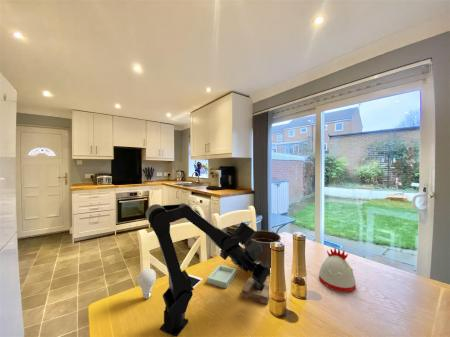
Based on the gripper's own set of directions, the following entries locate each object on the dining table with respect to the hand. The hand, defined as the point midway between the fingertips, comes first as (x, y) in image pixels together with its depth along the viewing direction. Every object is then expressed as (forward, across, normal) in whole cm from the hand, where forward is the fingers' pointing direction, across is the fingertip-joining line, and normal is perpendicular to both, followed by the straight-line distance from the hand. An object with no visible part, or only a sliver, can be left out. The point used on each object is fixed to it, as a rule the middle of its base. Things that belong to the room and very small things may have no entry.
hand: (260, 275), depth 78 cm
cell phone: (-13, +18, +23) cm, 32 cm away
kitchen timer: (+29, -11, -19) cm, 37 cm away
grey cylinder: (+4, 0, +6) cm, 7 cm away
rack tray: (-2, +16, +11) cm, 19 cm away
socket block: (+4, 0, +6) cm, 7 cm away
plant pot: (+14, +13, -5) cm, 20 cm away
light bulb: (-24, +18, +34) cm, 45 cm away
